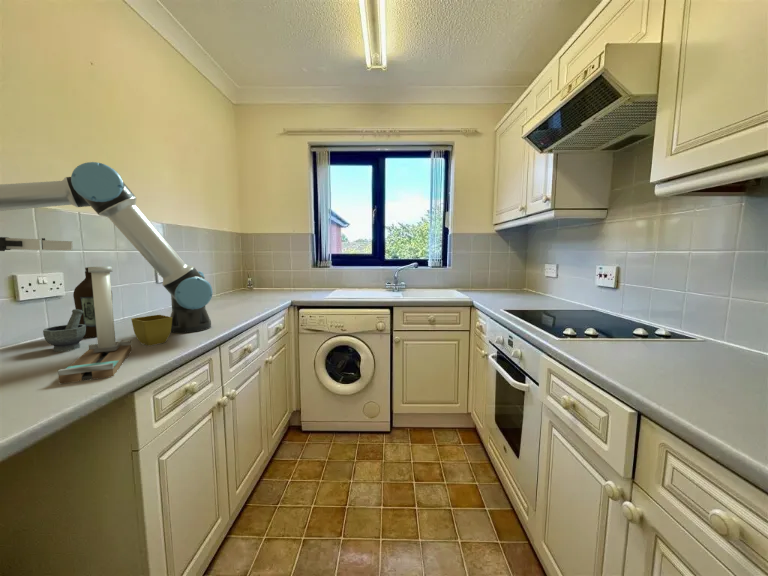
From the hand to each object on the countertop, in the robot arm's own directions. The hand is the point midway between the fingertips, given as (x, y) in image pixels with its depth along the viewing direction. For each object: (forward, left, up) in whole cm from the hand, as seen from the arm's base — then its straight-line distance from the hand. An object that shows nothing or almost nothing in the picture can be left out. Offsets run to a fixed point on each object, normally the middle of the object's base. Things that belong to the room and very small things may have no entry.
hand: (57, 245), depth 89 cm
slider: (-9, +2, -30) cm, 32 cm away
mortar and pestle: (+4, -15, -33) cm, 36 cm away
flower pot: (-19, -9, -33) cm, 39 cm away
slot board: (-9, +9, -33) cm, 35 cm away
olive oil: (+1, -32, -33) cm, 46 cm away
